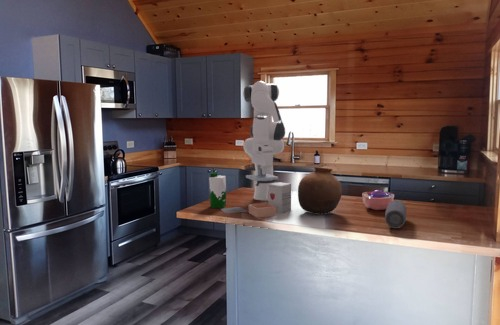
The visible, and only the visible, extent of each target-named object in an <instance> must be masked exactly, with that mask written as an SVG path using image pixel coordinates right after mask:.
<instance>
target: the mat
mask: <svg viewBox="0 0 500 325" xmlns="http://www.w3.org/2000/svg"><path fill="white" fill-rule="evenodd" d="M219 209H220V210H221V211H222V212H223V213H225V214H236V213H237V214H238V213H245V212H246V213H247V211H248V210H246V209H244V208H243V207H242V206H234V207H223V208H219Z"/></svg>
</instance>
